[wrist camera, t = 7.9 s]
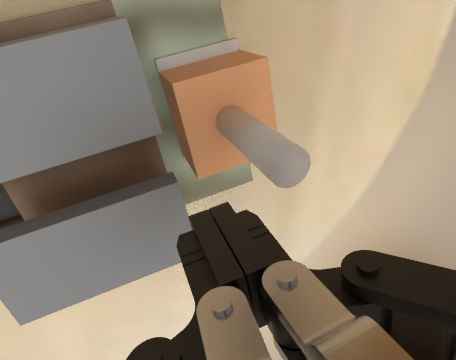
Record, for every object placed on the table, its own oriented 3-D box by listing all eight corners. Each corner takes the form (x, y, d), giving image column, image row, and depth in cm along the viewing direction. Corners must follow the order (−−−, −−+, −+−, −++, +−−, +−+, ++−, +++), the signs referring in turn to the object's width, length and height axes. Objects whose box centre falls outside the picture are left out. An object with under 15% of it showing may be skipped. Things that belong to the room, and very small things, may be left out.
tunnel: (-75, 60, 19) (-166, 85, 13) (116, 16, 22) (126, 17, 15) (39, 245, 26) (20, 325, 19) (175, 197, 28) (200, 254, 22)
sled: (153, 58, 23) (206, 98, 12) (234, 37, 24) (346, 57, 14) (183, 161, 27) (243, 259, 16) (251, 138, 28) (349, 215, 18)
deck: (-142, 55, 20) (-170, 60, 18) (205, -21, 25) (215, -25, 23) (-1, 254, 28) (-9, 274, 26) (242, 169, 33) (252, 180, 30)
